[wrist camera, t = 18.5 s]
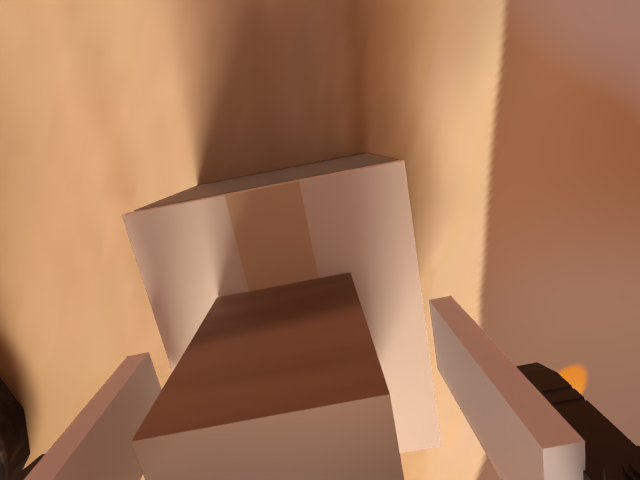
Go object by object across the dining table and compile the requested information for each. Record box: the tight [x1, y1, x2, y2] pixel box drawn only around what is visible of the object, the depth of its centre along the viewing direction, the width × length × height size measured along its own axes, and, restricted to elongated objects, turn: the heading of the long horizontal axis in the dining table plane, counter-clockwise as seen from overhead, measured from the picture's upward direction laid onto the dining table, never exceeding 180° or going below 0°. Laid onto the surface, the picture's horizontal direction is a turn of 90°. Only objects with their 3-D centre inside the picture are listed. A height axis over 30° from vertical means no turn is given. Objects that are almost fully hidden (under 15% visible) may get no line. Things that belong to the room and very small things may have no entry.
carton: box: [134, 153, 398, 211], centre depth 20 cm, size 12×10×8 cm
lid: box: [122, 160, 442, 453], centre depth 15 cm, size 12×10×1 cm
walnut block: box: [131, 272, 404, 480], centre depth 11 cm, size 5×5×7 cm
